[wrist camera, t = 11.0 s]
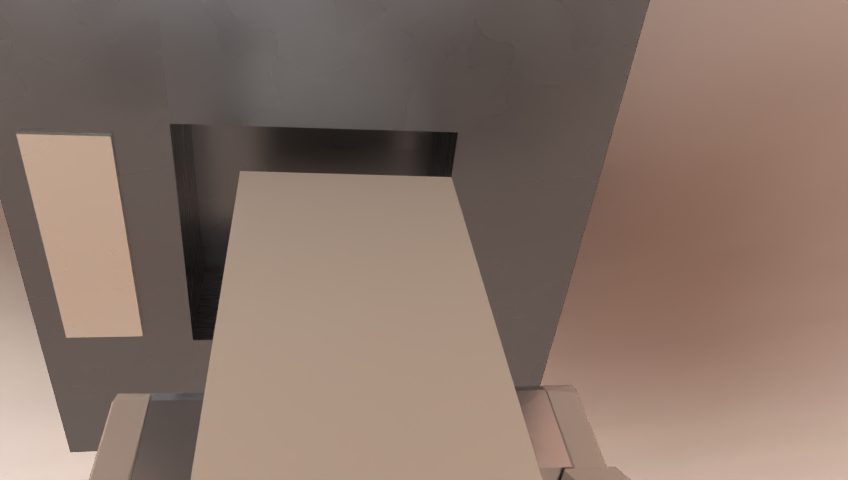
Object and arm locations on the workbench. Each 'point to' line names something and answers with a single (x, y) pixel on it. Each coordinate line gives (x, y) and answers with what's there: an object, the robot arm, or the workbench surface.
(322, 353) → the plug
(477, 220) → the panel
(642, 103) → the workbench surface
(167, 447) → the robot arm
